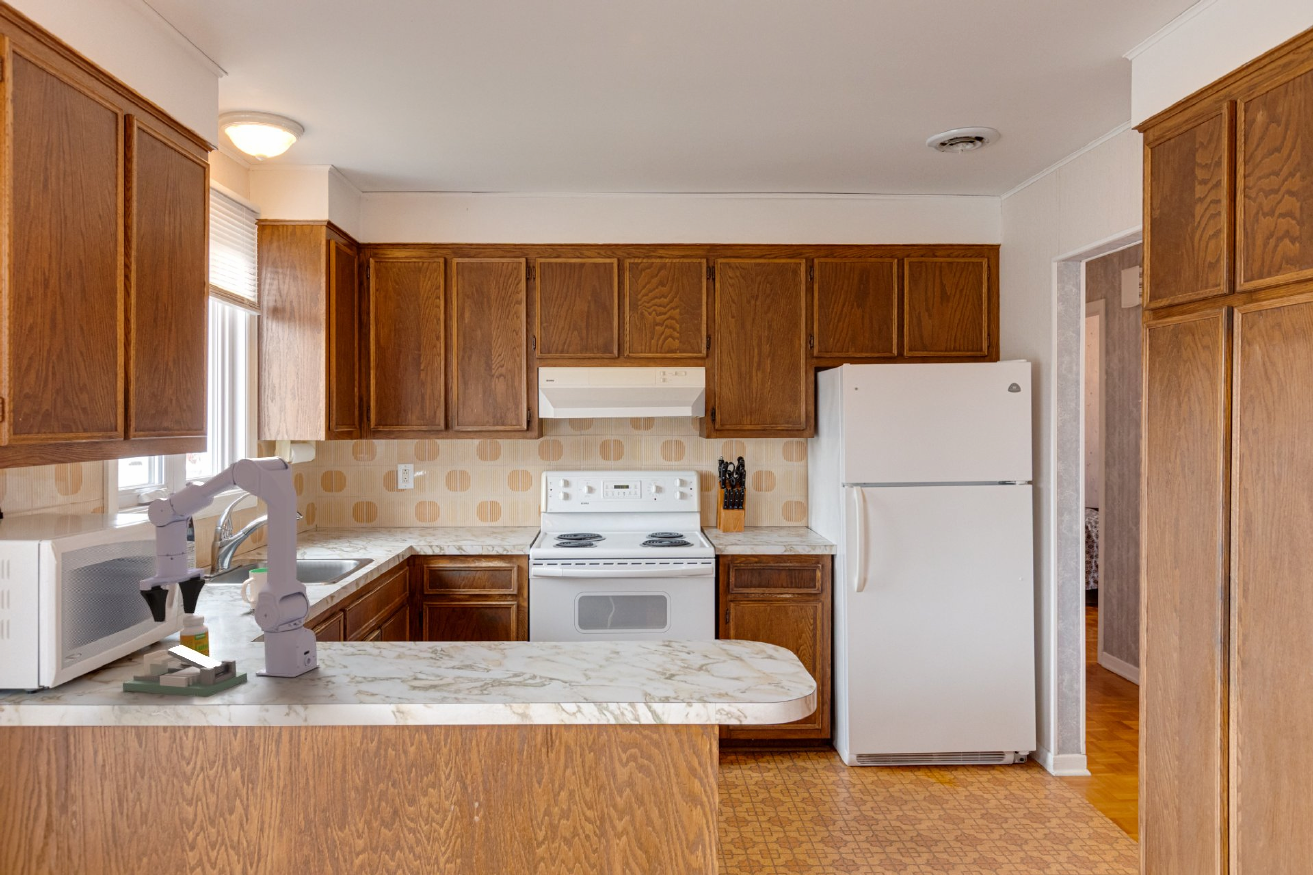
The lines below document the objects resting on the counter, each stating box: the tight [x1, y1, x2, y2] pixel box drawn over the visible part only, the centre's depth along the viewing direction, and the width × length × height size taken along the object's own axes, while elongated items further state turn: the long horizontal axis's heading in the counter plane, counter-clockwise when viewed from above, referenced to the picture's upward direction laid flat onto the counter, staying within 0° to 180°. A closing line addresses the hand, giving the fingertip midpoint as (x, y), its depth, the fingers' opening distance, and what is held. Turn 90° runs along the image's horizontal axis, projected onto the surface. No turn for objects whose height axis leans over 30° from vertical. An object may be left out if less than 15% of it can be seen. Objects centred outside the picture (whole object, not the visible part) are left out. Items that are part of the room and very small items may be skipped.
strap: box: [167, 645, 229, 676], centre depth 160 cm, size 12×4×2 cm, turn 74°
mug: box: [240, 567, 267, 610], centre depth 231 cm, size 12×8×10 cm, turn 163°
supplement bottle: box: [179, 614, 210, 666], centre depth 178 cm, size 5×5×10 cm
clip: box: [143, 649, 178, 676], centre depth 163 cm, size 4×4×4 cm
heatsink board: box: [122, 659, 248, 698], centre depth 161 cm, size 20×10×4 cm, turn 74°
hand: (174, 617), depth 176 cm, fingers open, 7 cm apart
